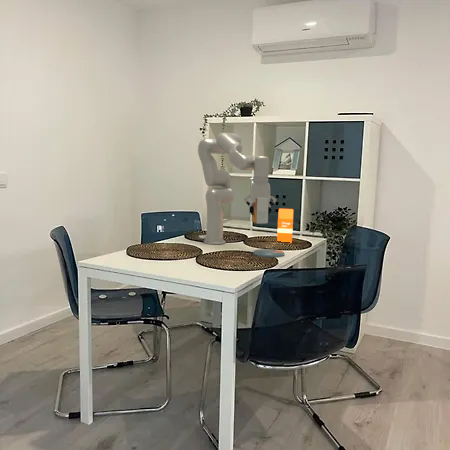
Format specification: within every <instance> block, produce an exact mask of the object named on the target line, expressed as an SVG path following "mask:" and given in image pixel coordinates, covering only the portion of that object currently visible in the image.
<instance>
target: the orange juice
mask: <svg viewBox="0 0 450 450" xmlns="http://www.w3.org/2000/svg"><path fill="white" fill-rule="evenodd" d="M277 217H278V218H277V234H276V235H277V237H276V239H277V240H276V242H277V241H281V242H290V243H289V244H292V242H293V231H294V230H293V228H294V227H293V224H294V209H293V208H279V209H278V216H277Z"/></svg>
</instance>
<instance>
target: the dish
mask: <svg viewBox="0 0 450 450" xmlns="http://www.w3.org/2000/svg"><path fill="white" fill-rule="evenodd" d="M252 254H253V255H254V256H256V255H257V257H261V256H262V257H263V258H281V257H284V256H285V252H284V250H283V251H282V250H279V249H275V248H274V249H273V248H260V249H259V248H258V249H254V250H253V253H252ZM262 257H261V258H262Z"/></svg>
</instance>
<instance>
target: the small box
mask: <svg viewBox="0 0 450 450" xmlns="http://www.w3.org/2000/svg"><path fill="white" fill-rule="evenodd" d="M268 199H269V198H256V202H255V203H253V205H252V207H253V209H252V215H251V220H250V221H251V222H252V223H254V224H268V223H269V215H268Z"/></svg>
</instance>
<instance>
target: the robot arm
mask: <svg viewBox="0 0 450 450" xmlns="http://www.w3.org/2000/svg"><path fill="white" fill-rule="evenodd" d="M242 152H243V145H242V139H241V137H240V135H239V134H238V133H234V132H233V133H232V132H220V133H219V134H218V135H217V136H216V138H212V137H211V138H210V137H209V138H208V137H207V138H203V139H201V140H200V141H199V143H198V146H197V153H198V157H199V161H200V163H201V167H202V171H203V176H204V181H205V184H206V185H207V186H208V187H212V188H209V189H207V190H206V193H205V202H206V234H204V235H203V234H202V235H201V234H199V235H198V239H201V240H203V243H204V244H208V245H224V244H226V240H224V210H223V209H224V208H223V207H222V205H230V204H232V203H234V201H235V190H234V186H233V180H232V177H231V174H230V172H229V171H227V170H224V169H219V168H218V164H217V161H216V159H215V157H214V156H213V155H212V154H216V155H220V154H222V155H223V154H224V155H225V154H228V158H229V162H230V163H231V164H232V165H233V166H234V167H235V168H237V169H238V170H240V171H253V177H251V178H250V181H251V182H252V183H251V186H250V194H249V195H247V196H246V197H244V198H243V201H244V202H245V204H246V205H248V207H249V214H250V215H251V216H252V209H253V207H252V205H253V203H255V202H256V198H269V199H268V216H270V214H271V207H273V206H274V205H275V203H276V202H277V200H278V199H277V198H275V197H274V196H273V195H271V184H270V183H269V173H270V172H269V171H270V170H269V168H270V167H269V166H270V158H269V157H268V156H265V155H247V154H246V155H243V154H242ZM248 200H249V201H248ZM271 200H273V201H272V202H271ZM270 202H271V203H270Z"/></svg>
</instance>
